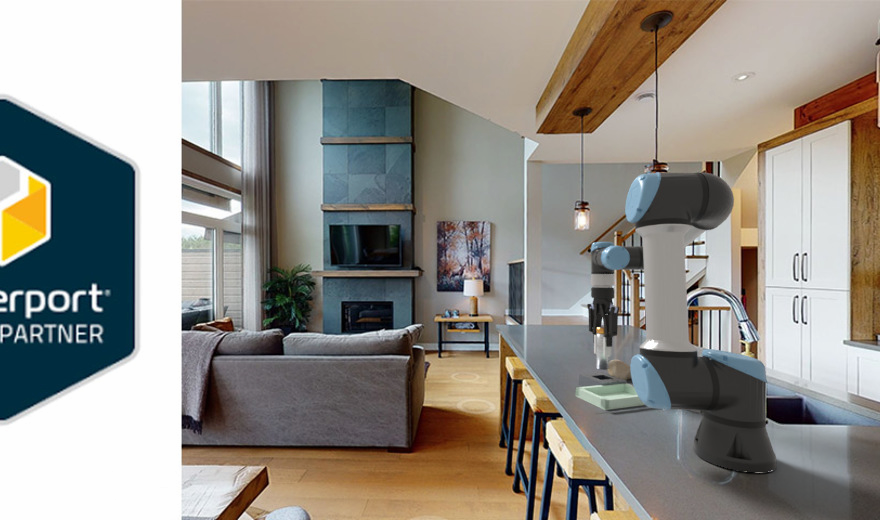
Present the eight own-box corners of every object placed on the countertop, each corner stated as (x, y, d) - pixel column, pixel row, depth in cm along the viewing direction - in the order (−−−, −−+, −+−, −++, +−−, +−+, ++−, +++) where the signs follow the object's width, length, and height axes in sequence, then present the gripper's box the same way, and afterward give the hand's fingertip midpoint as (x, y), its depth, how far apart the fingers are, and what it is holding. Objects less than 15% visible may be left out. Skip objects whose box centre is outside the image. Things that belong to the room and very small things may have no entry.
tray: (624, 392, 143) (624, 382, 143) (657, 404, 130) (657, 394, 130) (575, 397, 137) (575, 387, 137) (604, 411, 124) (604, 400, 124)
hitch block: (626, 392, 142) (626, 380, 142) (602, 395, 139) (602, 383, 139) (602, 383, 154) (602, 372, 154) (579, 385, 150) (579, 374, 150)
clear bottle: (611, 369, 145) (611, 328, 145) (601, 370, 143) (601, 328, 144) (603, 366, 149) (603, 326, 149) (593, 367, 147) (593, 326, 148)
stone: (624, 379, 163) (638, 361, 158) (628, 392, 157) (643, 374, 152) (598, 370, 163) (612, 352, 158) (602, 383, 157) (616, 364, 152)
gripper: (629, 287, 140) (629, 359, 139) (595, 285, 156) (595, 349, 155) (611, 287, 137) (611, 360, 137) (577, 285, 153) (577, 350, 153)
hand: (602, 354), depth 146 cm, fingers closed on clear bottle, 4 cm apart
